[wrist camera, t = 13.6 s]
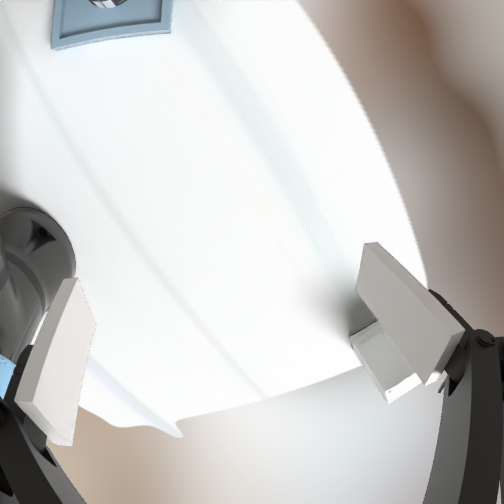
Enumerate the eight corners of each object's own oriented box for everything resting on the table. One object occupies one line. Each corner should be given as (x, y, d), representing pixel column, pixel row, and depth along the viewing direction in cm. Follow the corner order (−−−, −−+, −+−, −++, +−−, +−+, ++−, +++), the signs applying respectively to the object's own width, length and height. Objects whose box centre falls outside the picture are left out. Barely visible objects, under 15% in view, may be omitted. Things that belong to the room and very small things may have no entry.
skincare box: (353, 351, 59) (385, 406, 46) (348, 334, 56) (383, 393, 43) (388, 332, 59) (424, 383, 46) (385, 314, 56) (425, 367, 43)
